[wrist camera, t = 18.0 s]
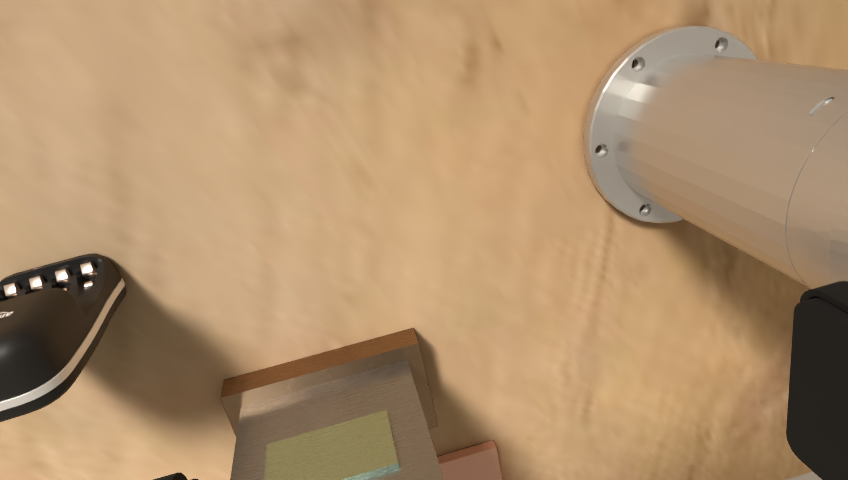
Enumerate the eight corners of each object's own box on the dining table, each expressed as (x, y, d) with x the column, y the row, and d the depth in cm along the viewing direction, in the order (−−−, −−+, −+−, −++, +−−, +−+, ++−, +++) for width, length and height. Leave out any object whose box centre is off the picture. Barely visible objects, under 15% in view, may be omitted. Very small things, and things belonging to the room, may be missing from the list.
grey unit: (413, 327, 41) (465, 475, 28) (432, 408, 43) (488, 575, 31) (223, 380, 39) (187, 559, 26) (255, 459, 42) (237, 658, 29)
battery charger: (107, 234, 34) (24, 332, 24) (134, 290, 36) (66, 406, 26) (-17, 267, 34) (-158, 384, 23) (16, 323, 35) (-103, 456, 25)
